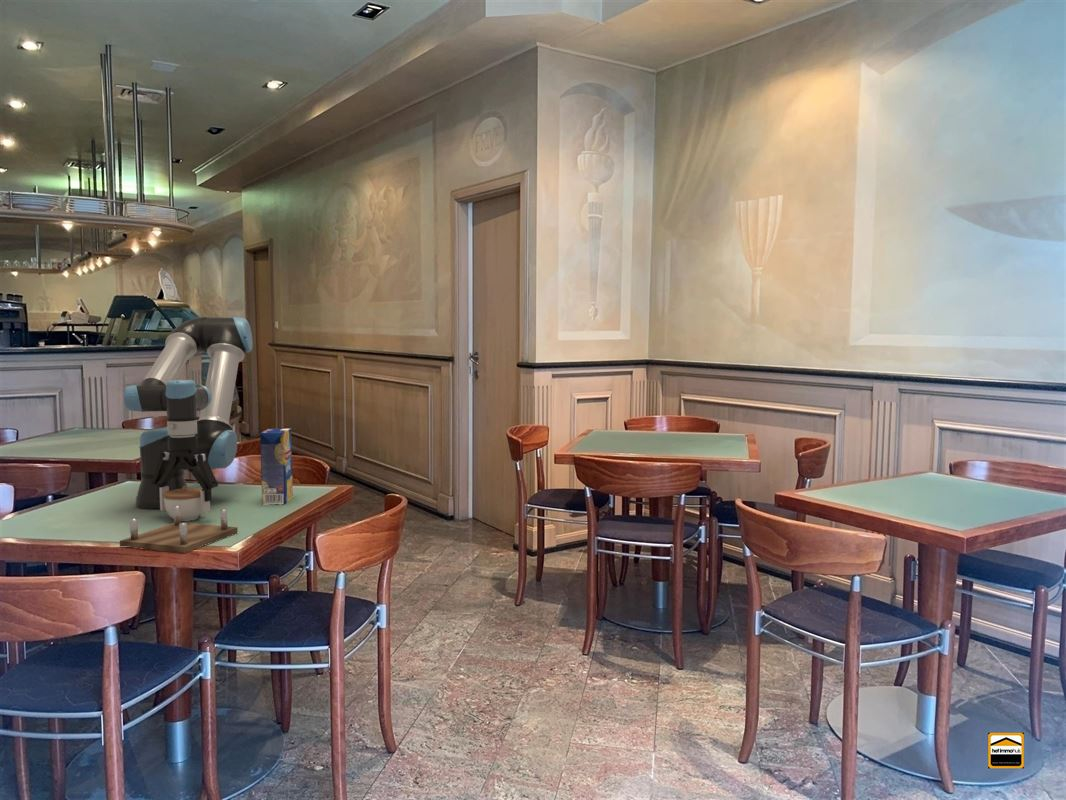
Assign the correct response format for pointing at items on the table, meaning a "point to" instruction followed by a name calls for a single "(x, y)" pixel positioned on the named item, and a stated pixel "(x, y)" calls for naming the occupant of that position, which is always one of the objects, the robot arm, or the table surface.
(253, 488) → the table surface
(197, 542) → the peg board
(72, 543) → the table surface
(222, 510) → the corner pegs
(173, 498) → the lidded jar
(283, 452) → the beverage box
